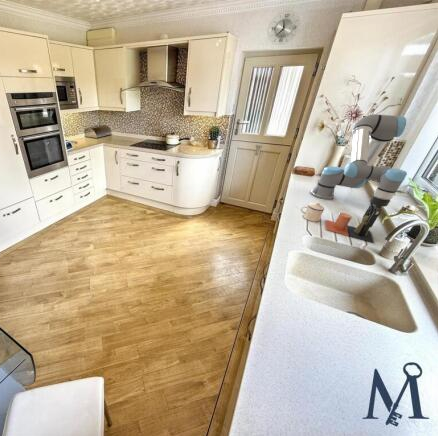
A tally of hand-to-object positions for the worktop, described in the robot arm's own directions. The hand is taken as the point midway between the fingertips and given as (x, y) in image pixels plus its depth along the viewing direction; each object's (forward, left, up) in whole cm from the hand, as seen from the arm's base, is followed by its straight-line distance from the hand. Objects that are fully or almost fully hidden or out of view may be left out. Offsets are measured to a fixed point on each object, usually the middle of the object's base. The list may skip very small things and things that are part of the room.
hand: (360, 232), depth 139 cm
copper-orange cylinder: (0, -10, -1) cm, 11 cm away
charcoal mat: (0, 0, -1) cm, 1 cm away
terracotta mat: (0, -11, -1) cm, 12 cm away
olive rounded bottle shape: (0, 0, 0) cm, 0 cm away
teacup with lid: (-4, -27, -1) cm, 27 cm away
